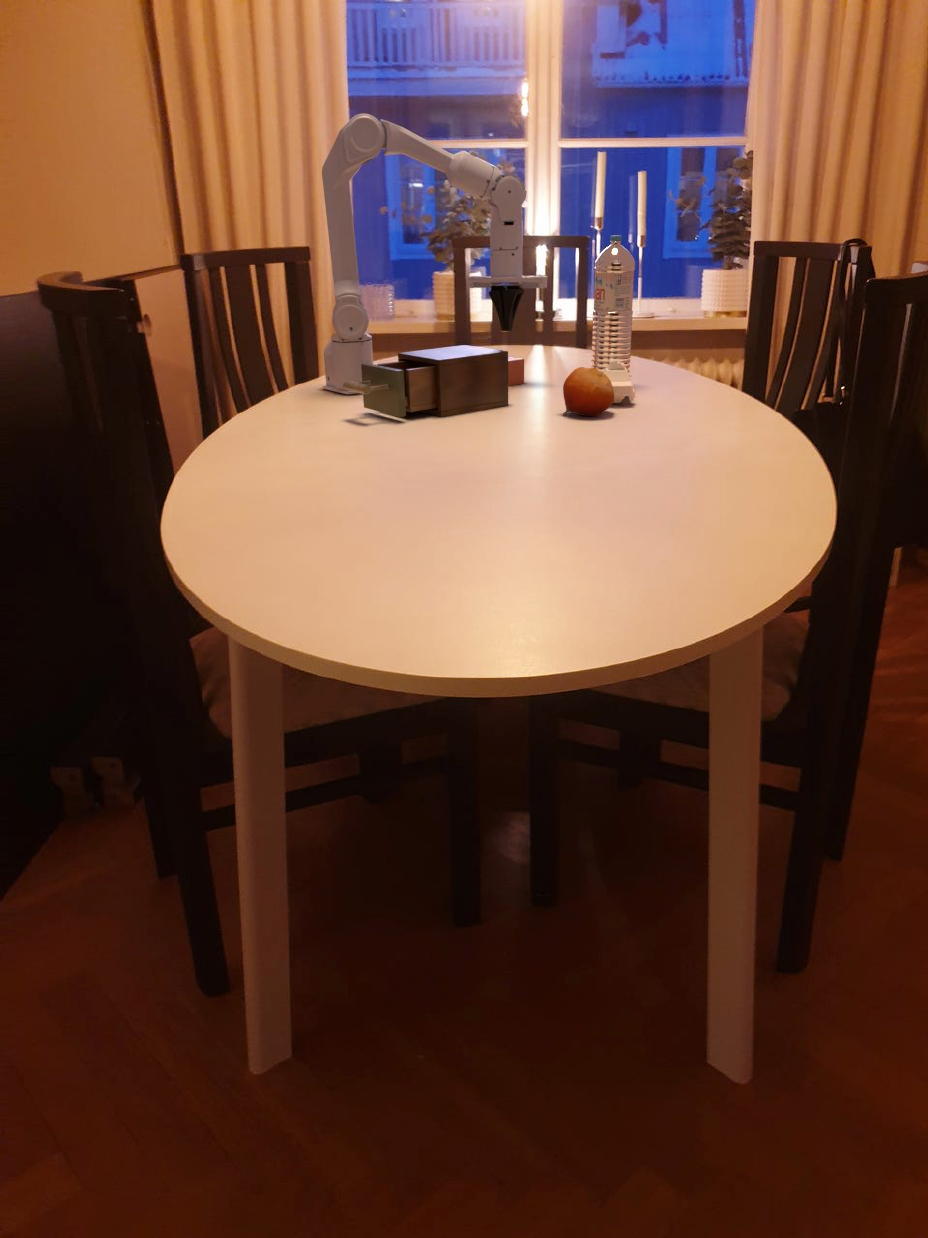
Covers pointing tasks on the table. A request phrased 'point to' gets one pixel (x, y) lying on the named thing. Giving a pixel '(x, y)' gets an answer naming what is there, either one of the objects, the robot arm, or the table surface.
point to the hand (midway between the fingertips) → (506, 330)
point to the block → (515, 371)
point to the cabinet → (466, 377)
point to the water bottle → (613, 306)
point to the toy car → (620, 381)
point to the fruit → (587, 392)
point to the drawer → (397, 387)
